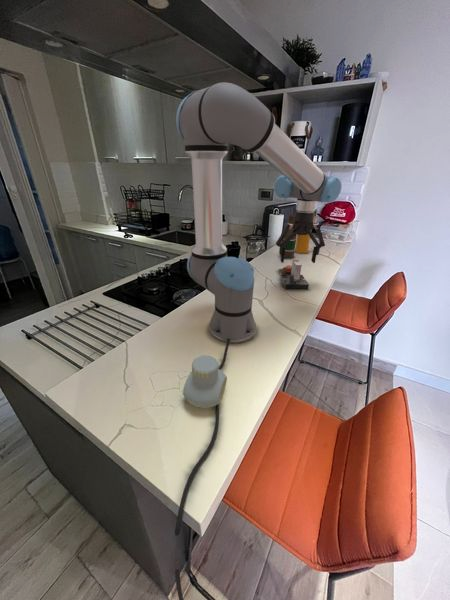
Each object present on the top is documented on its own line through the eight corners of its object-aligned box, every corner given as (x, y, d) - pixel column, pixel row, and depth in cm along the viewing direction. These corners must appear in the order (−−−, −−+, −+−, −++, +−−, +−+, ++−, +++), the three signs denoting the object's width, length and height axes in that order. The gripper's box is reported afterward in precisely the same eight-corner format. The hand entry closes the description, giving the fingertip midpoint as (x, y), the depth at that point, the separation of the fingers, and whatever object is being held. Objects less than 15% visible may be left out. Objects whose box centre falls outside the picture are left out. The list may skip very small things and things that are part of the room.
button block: (299, 279, 123) (300, 273, 121) (282, 278, 123) (283, 273, 121) (294, 271, 131) (295, 265, 130) (278, 270, 131) (279, 265, 130)
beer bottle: (277, 255, 153) (282, 213, 141) (288, 253, 156) (293, 212, 144) (285, 259, 147) (291, 216, 135) (296, 257, 150) (302, 215, 138)
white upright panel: (298, 282, 114) (301, 264, 110) (293, 281, 113) (296, 264, 110) (295, 276, 119) (298, 259, 115) (290, 276, 119) (292, 259, 115)
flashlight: (300, 209, 144) (298, 206, 152) (294, 253, 156) (291, 248, 165) (318, 209, 143) (315, 207, 152) (310, 254, 155) (307, 249, 164)
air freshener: (215, 418, 56) (215, 385, 51) (180, 409, 58) (177, 376, 53) (228, 381, 65) (229, 351, 60) (198, 375, 67) (196, 344, 62)
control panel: (308, 289, 113) (309, 284, 111) (285, 289, 112) (285, 283, 111) (301, 279, 122) (302, 274, 121) (280, 279, 122) (281, 274, 121)
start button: (293, 271, 124) (294, 268, 123) (286, 271, 124) (286, 267, 123) (292, 268, 127) (292, 265, 127) (284, 268, 127) (285, 265, 126)
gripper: (332, 209, 105) (323, 259, 116) (272, 209, 105) (267, 258, 116) (340, 213, 99) (328, 265, 109) (275, 212, 99) (270, 264, 109)
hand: (297, 261), depth 112 cm, fingers open, 13 cm apart
